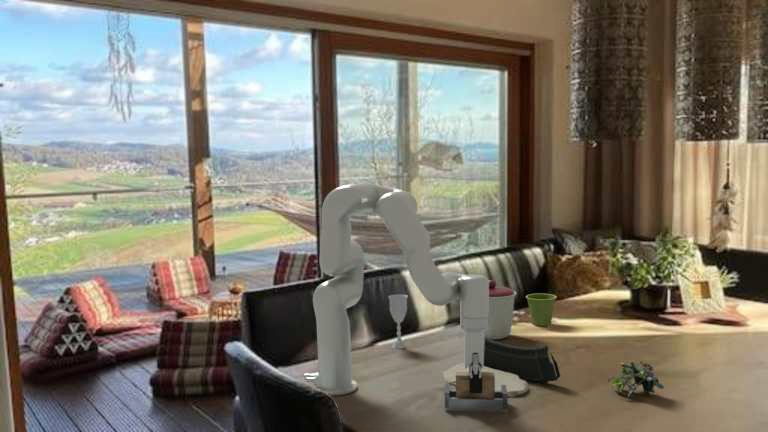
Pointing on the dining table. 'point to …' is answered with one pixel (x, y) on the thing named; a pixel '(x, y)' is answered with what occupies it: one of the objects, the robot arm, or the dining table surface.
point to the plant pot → (541, 308)
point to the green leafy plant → (636, 378)
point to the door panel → (464, 386)
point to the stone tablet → (501, 378)
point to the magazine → (521, 361)
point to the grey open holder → (476, 402)
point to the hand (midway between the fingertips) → (475, 386)
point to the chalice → (398, 315)
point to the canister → (500, 311)
